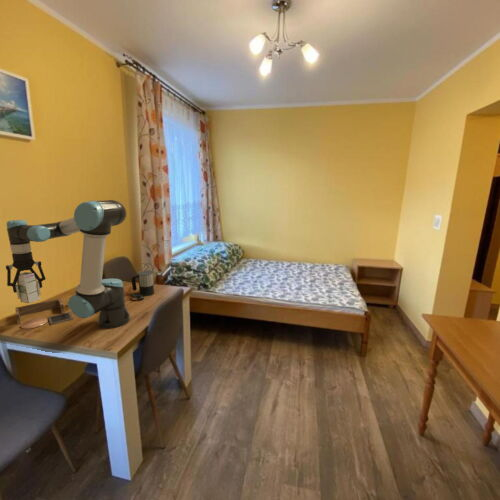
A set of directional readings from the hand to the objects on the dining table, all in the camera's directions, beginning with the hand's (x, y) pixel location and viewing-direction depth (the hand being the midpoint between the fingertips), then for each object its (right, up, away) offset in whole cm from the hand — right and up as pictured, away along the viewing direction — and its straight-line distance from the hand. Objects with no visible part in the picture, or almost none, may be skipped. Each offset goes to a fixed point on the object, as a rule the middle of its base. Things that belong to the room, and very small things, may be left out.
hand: (29, 295), depth 138 cm
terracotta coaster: (0, -15, +3) cm, 15 cm away
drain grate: (+10, -14, +9) cm, 19 cm away
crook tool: (+1, -8, +33) cm, 34 cm away
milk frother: (+42, -7, +41) cm, 59 cm away
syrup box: (0, -3, +1) cm, 3 cm away
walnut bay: (-5, -13, +14) cm, 19 cm away
